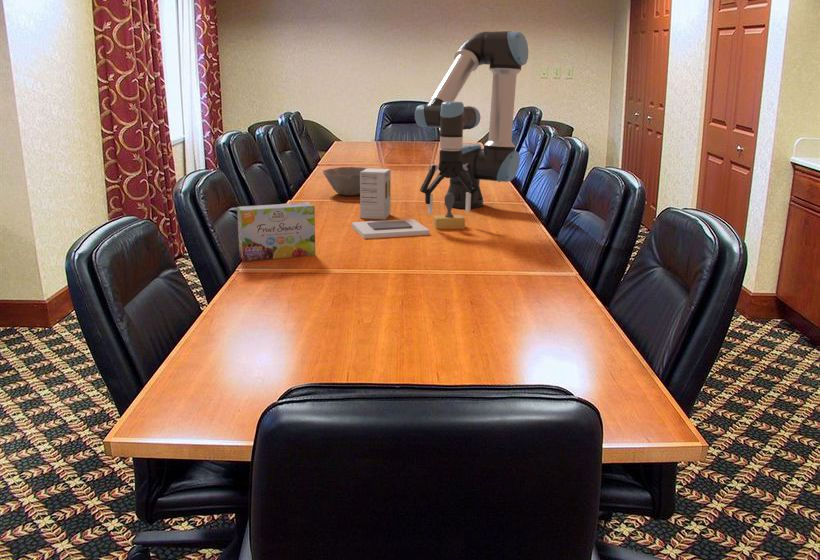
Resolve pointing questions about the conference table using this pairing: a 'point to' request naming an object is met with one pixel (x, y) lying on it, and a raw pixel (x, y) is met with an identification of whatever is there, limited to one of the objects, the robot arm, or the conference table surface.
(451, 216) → the rubber stamp
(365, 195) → the supplement box
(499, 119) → the robot arm
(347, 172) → the ceramic bowl
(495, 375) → the conference table surface
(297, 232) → the snack box
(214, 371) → the conference table surface
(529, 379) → the conference table surface
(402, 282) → the conference table surface
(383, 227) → the pad
